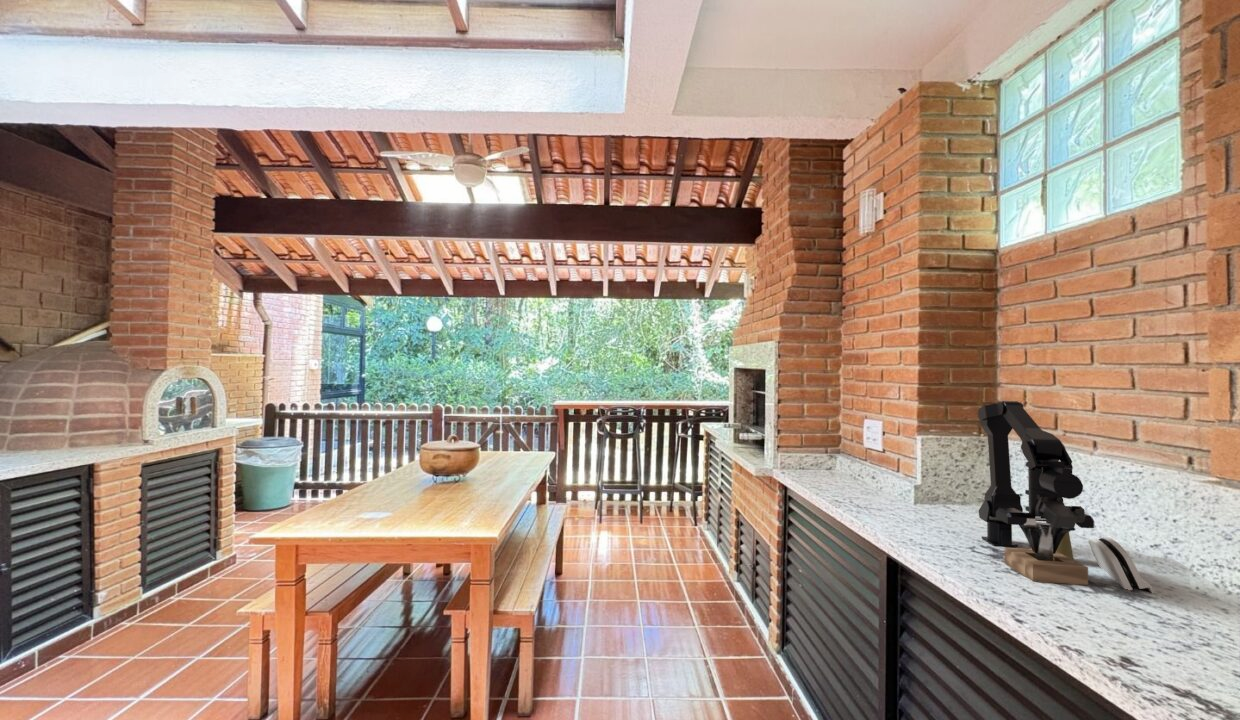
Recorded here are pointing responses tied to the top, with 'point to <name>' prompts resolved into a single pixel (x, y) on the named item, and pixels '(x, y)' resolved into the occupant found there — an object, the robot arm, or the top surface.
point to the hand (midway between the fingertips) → (1043, 552)
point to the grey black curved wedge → (1117, 563)
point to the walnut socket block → (1046, 567)
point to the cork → (1065, 546)
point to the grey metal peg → (1045, 542)
